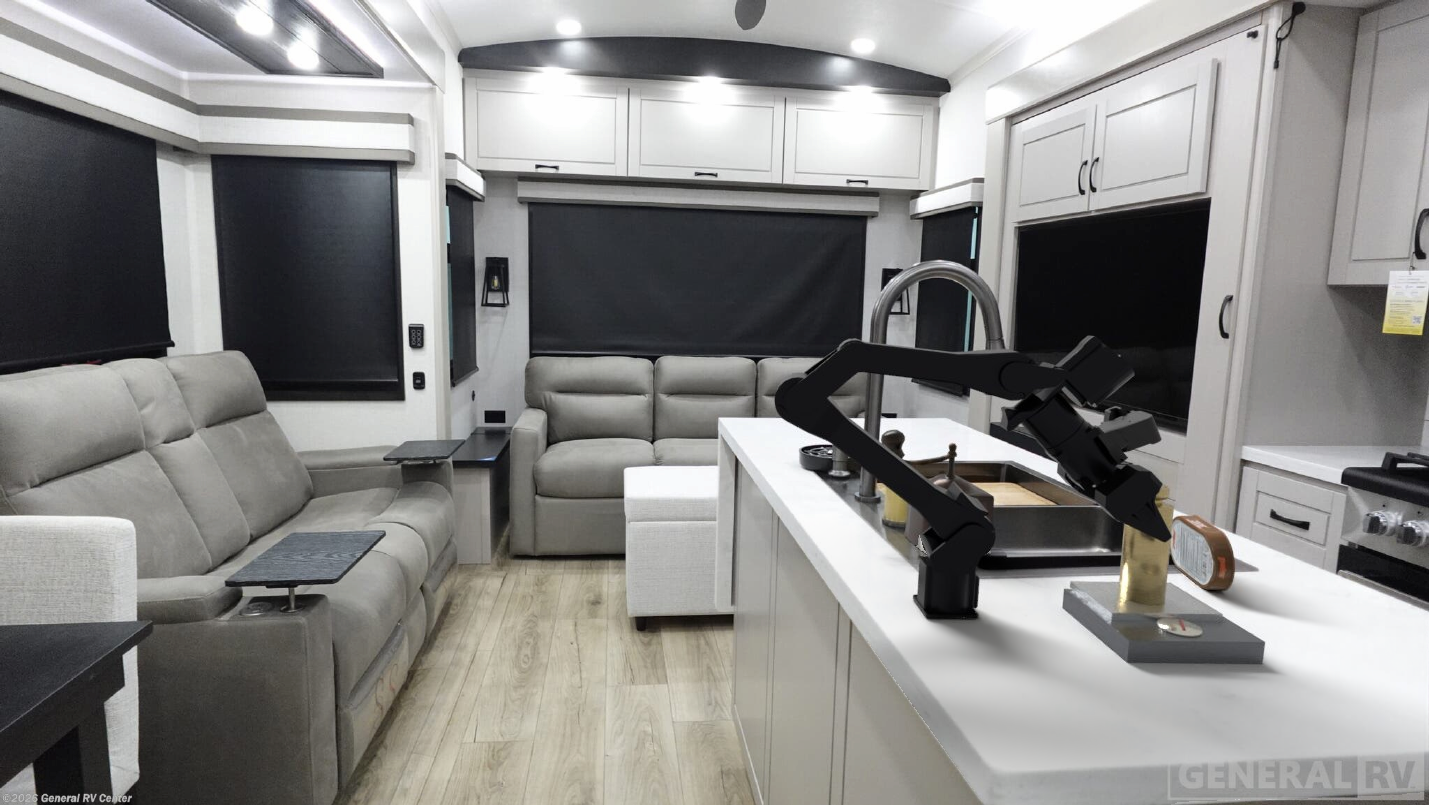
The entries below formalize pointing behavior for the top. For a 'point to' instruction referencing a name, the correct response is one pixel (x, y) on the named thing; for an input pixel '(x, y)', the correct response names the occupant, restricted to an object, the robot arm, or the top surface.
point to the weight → (1146, 560)
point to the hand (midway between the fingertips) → (1151, 528)
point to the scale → (1160, 627)
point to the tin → (1202, 553)
